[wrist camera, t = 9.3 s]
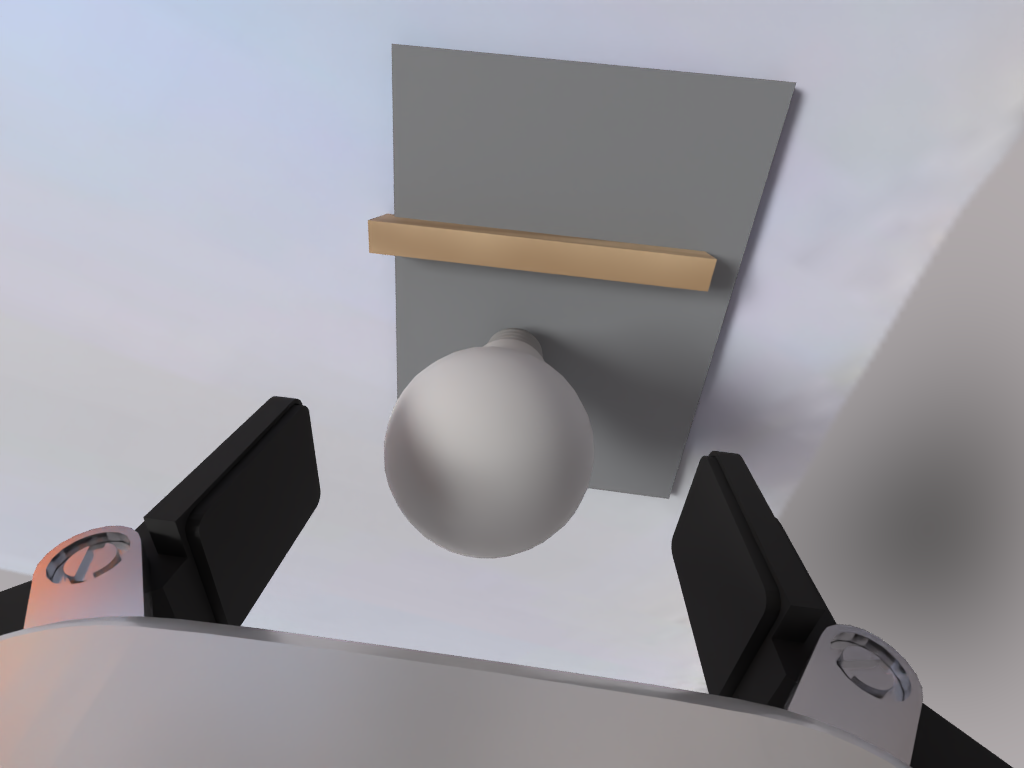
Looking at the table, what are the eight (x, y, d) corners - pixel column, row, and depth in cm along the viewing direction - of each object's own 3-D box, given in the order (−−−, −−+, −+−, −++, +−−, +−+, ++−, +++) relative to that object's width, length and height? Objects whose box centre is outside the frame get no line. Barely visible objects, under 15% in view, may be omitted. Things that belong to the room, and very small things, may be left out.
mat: (397, 47, 17) (391, 43, 17) (788, 84, 17) (796, 82, 16) (401, 456, 25) (398, 462, 24) (666, 491, 24) (668, 498, 24)
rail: (387, 213, 20) (367, 220, 18) (700, 248, 19) (716, 259, 17) (388, 243, 20) (369, 252, 18) (693, 277, 20) (707, 291, 18)
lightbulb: (602, 385, 21) (632, 584, 12) (481, 422, 23) (418, 625, 13) (556, 258, 19) (546, 374, 9) (425, 309, 21) (299, 453, 11)
